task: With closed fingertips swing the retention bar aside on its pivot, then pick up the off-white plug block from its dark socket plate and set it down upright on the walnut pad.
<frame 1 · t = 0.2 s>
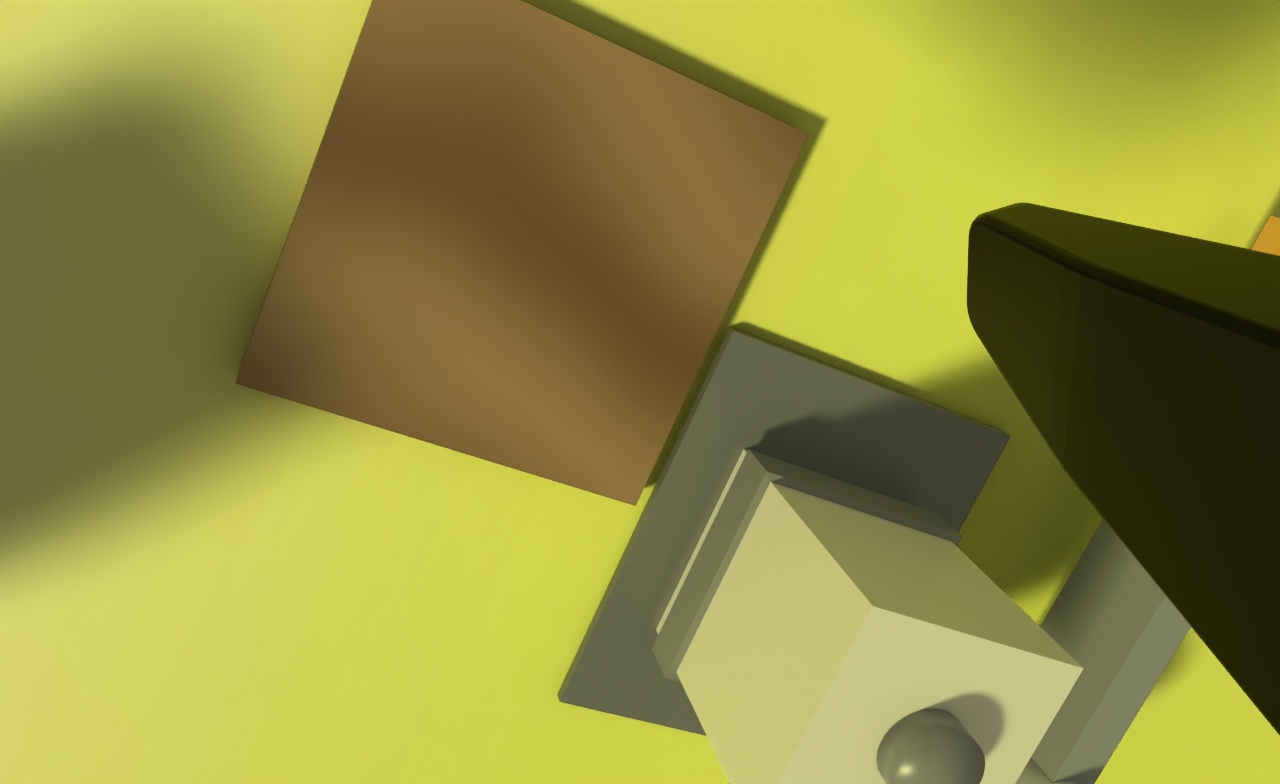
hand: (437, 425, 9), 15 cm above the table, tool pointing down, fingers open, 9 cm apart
walnut pad: (524, 248, 24), on the table
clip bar: (1168, 565, 27), point 3 cm above the table, hinge at 0.0°
socket plate: (782, 561, 28), on the table
plug: (787, 567, 28), resting on socket plate
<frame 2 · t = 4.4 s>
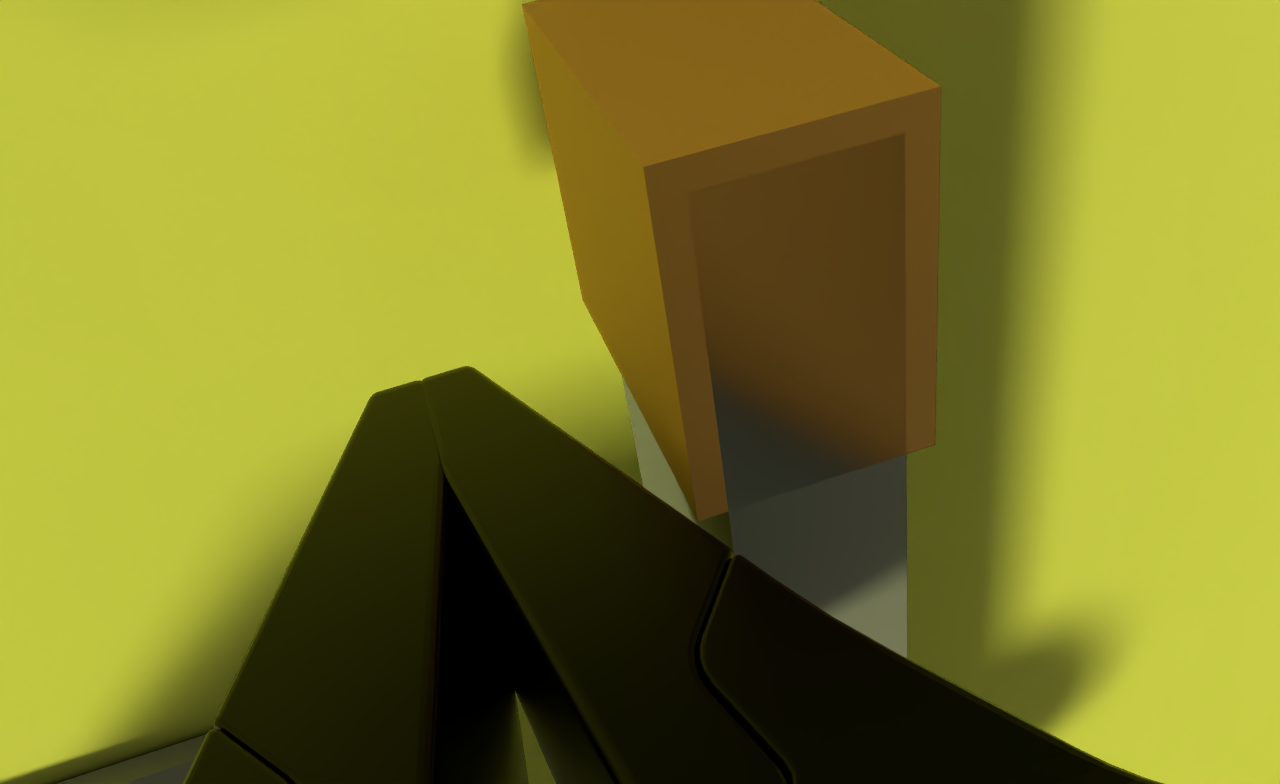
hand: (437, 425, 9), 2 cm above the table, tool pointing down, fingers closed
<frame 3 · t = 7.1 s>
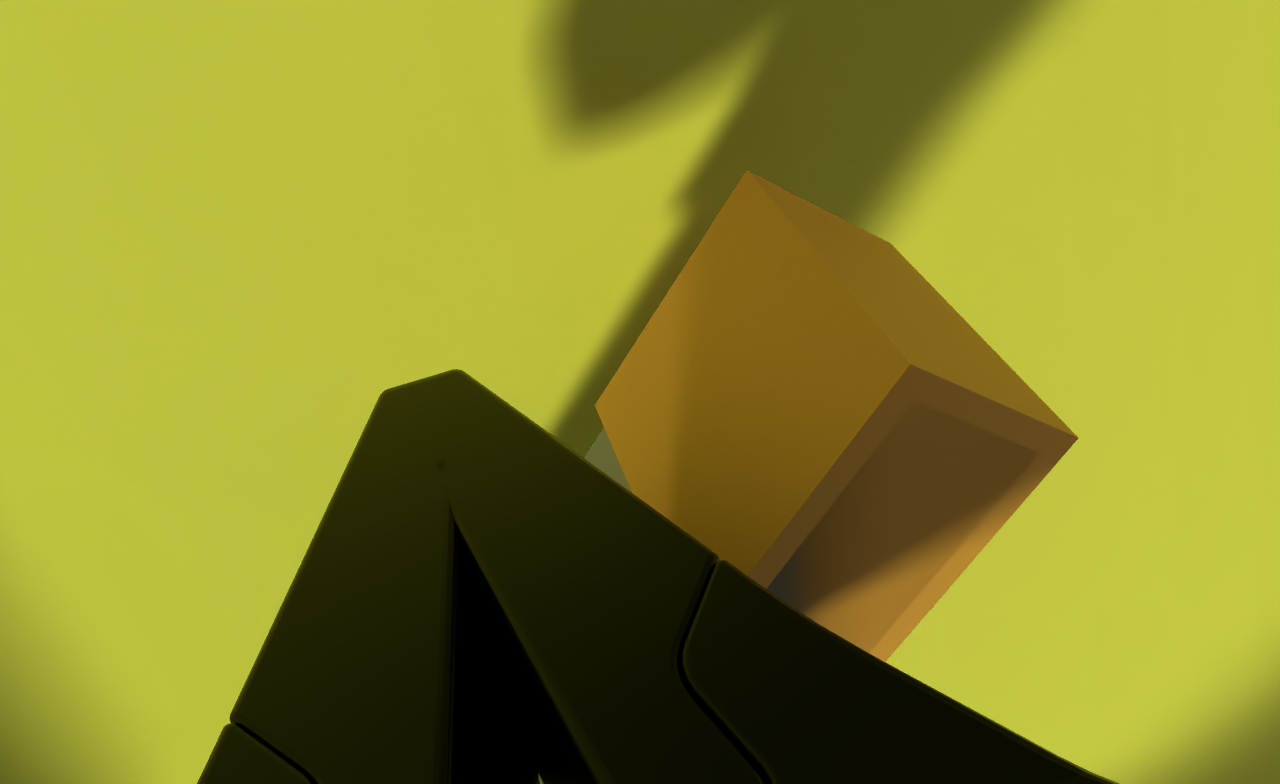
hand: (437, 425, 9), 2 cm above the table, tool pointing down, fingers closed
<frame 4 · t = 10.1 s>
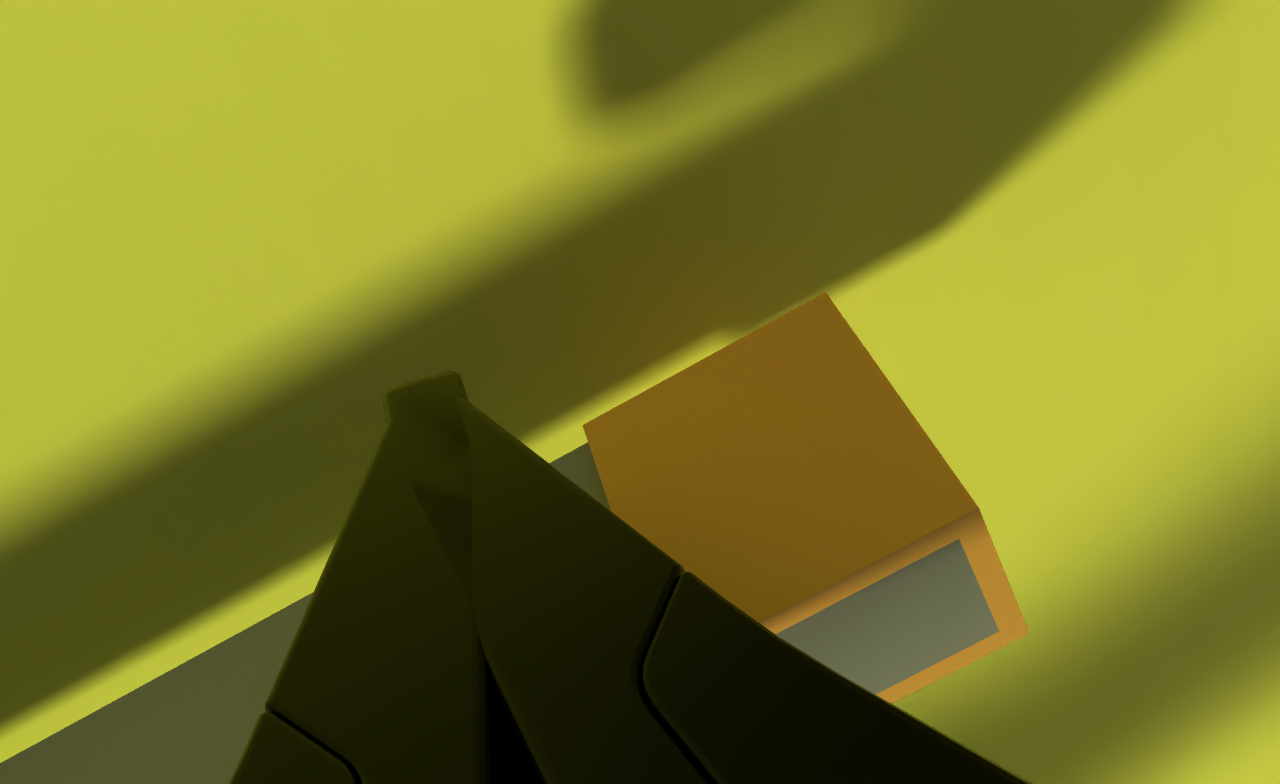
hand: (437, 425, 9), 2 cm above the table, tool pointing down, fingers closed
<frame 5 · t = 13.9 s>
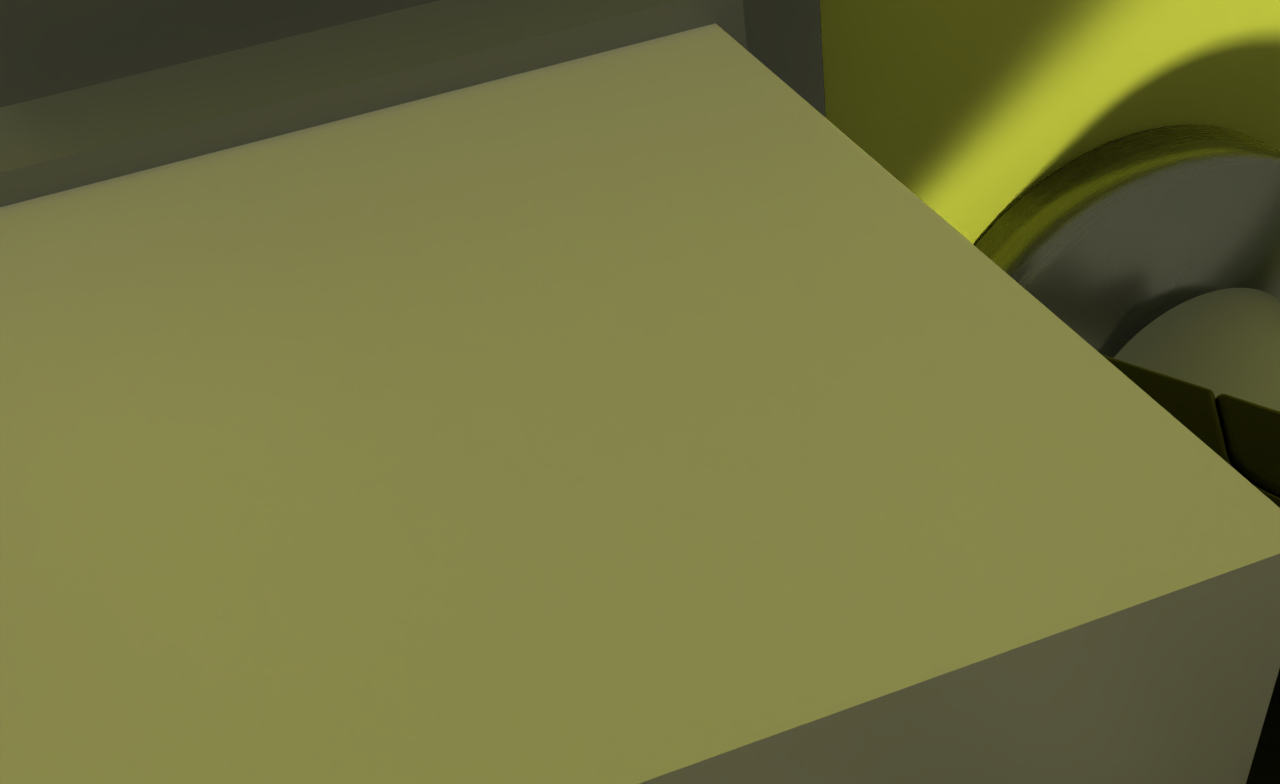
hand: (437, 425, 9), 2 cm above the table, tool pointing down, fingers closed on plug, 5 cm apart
clip base: (1112, 334, 13), on the table
socket plate: (402, 295, 10), on the table
plug: (406, 312, 10), resting on socket plate, touching gripper
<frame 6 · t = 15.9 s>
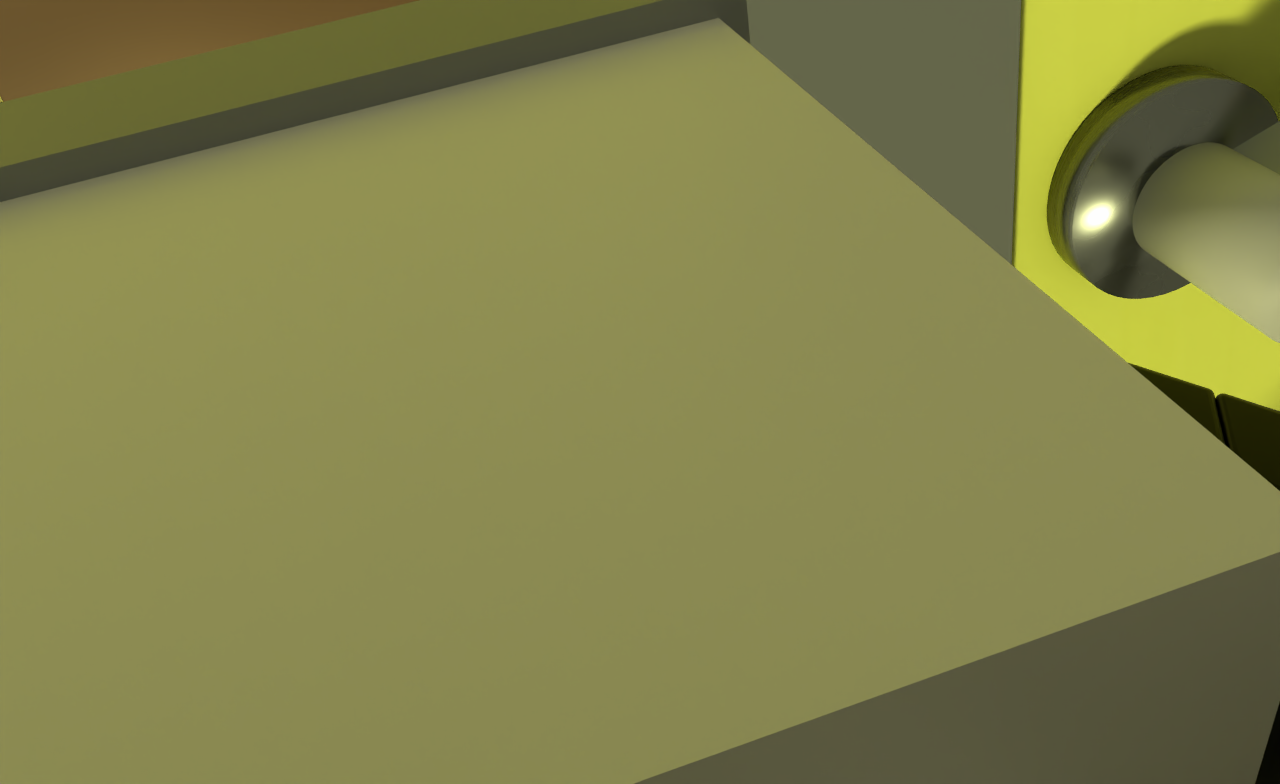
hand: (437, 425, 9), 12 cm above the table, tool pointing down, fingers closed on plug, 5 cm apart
walnut pad: (287, 0, 18), on the table
clip base: (1148, 177, 25), on the table
socket plate: (826, 140, 23), on the table
plug: (407, 309, 10), point 11 cm above the table, touching gripper
when the fingers open (3 cm above the table, at t = 18.0 s): plug drops 1 cm, resting on walnut pad.
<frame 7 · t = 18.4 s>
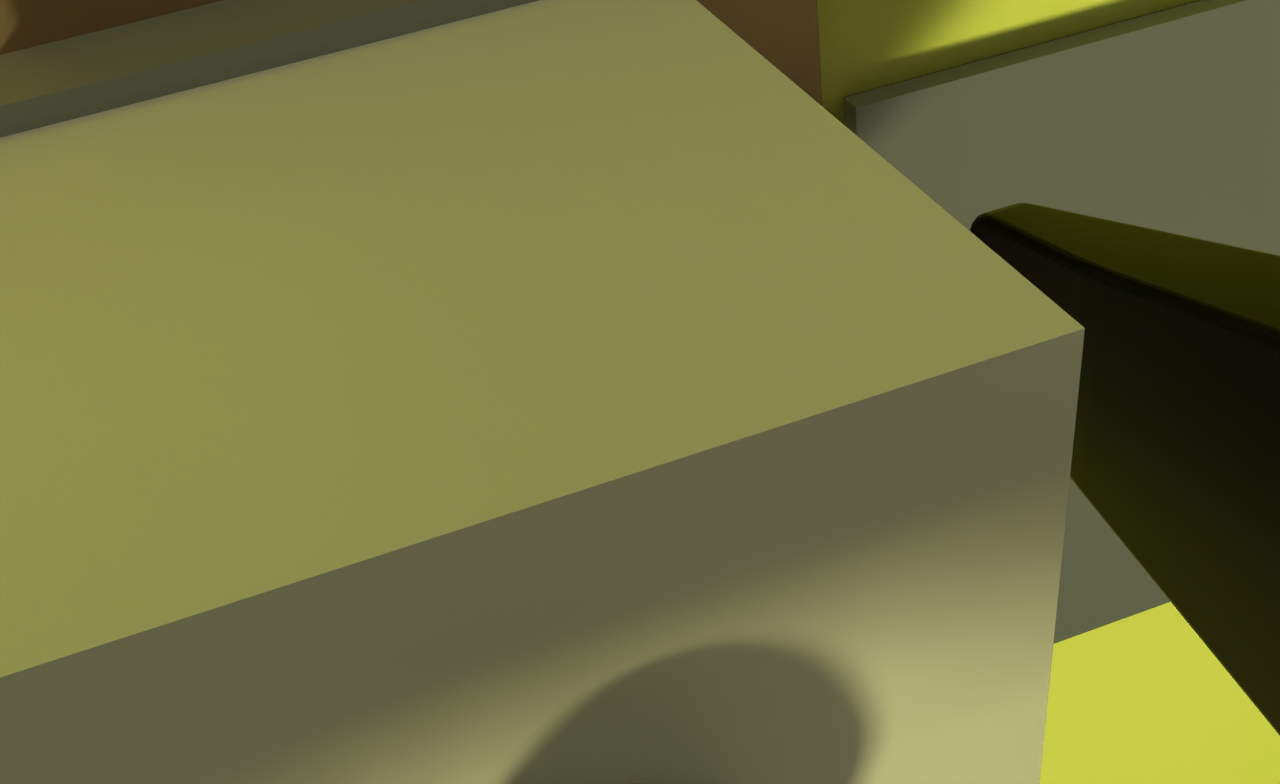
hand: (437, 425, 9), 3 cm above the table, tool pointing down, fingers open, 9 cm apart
walnut pad: (380, 224, 11), on the table
socket plate: (1125, 367, 16), on the table
plug: (390, 248, 11), point 1 cm above the table, touching walnut pad
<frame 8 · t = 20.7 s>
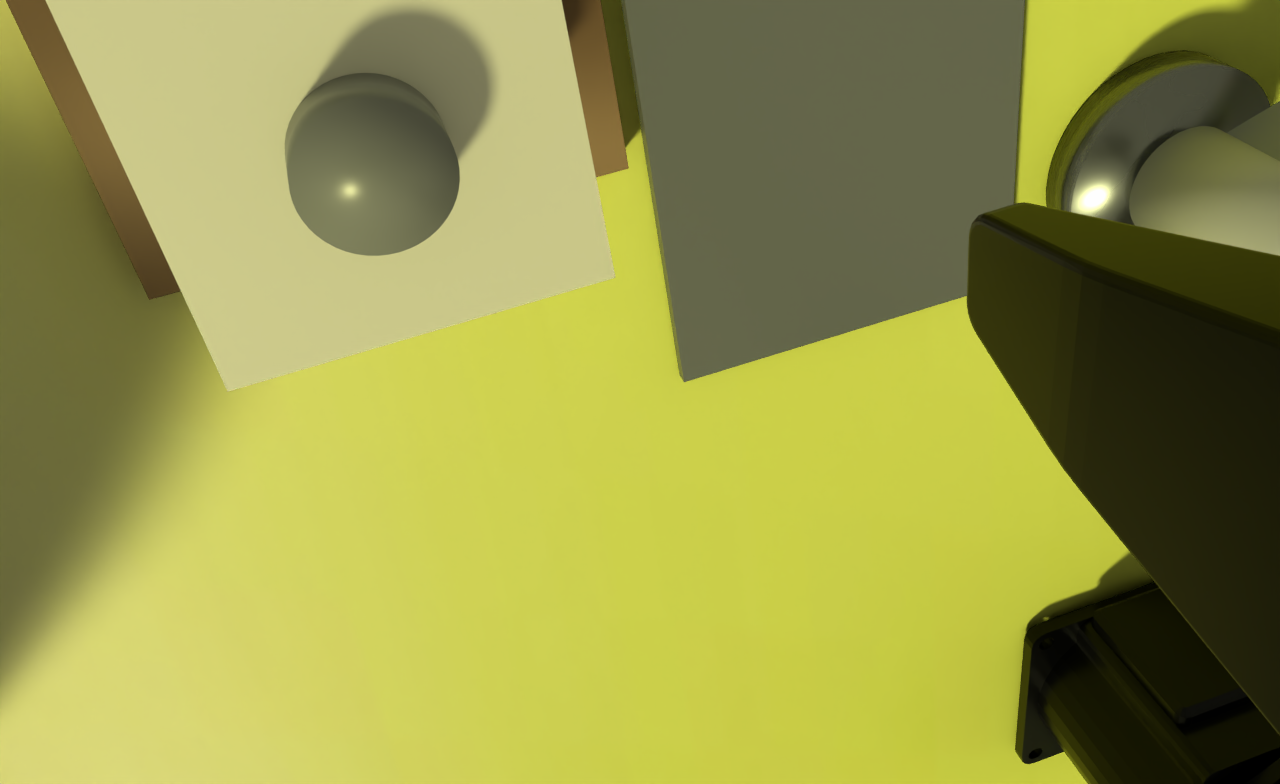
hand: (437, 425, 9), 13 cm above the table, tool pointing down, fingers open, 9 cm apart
clip base: (1144, 160, 26), on the table
socket plate: (834, 121, 23), on the table
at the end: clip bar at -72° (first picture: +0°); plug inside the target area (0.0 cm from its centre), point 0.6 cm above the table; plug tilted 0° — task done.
